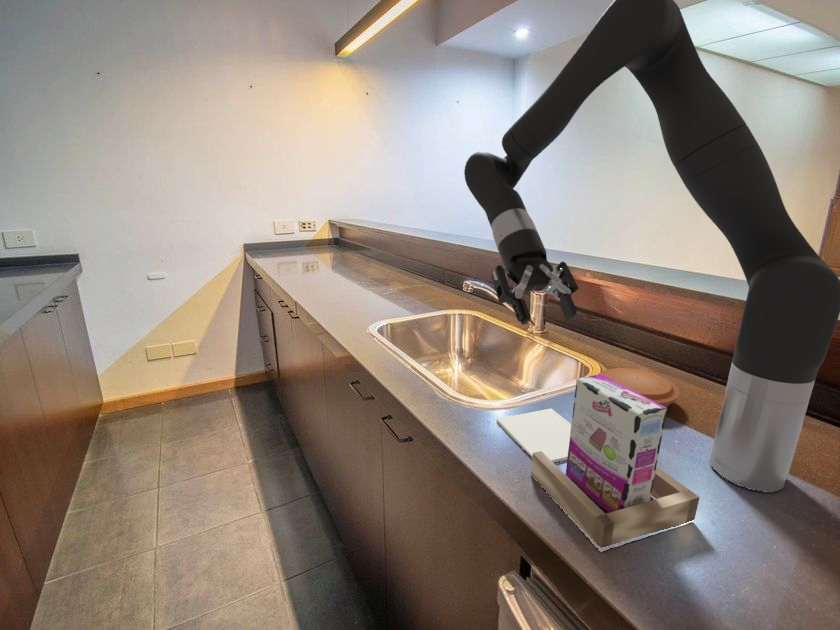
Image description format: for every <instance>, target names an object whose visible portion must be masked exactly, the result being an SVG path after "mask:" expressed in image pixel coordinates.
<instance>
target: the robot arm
mask: <svg viewBox="0 0 840 630" xmlns="http://www.w3.org/2000/svg"><path fill="white" fill-rule="evenodd" d="M687 27H688V26H687V24H686V22H685V20H684V17H683V14H682V11H681V8H680V6H679V5H678V4H677V3H676V1H675V0H613V1H612V2H611V4H610V5H609V6H608V7H607V9H605V11H604V13H603V14H602V15H601V16H600V17H599V19H598V20H597V22H596V24H595V25H594V26H593V28H592V29H591V30H590V32H589V33H588V34H587V36H586V38H585V39H584V40H583V41H582V42H581V44H580V46H579V47H578V48H577V50H576V51H575V52H574V53H573V55H572V56H571V57H570V59H569V60H568V61H567V63H566V64H565V65H564V67H562V69H561V70H560V72H559V73H558V74H557V75H556V77H555V78H554V79H553V81H552V82H551V83H550V84H549V86H547V87H546V89H545V90H544V91H543V93H541V95H539V97H538V98H537V99H536V101H534V102H533V104H532V105H531V106H529V108H528V109H527V110H526V111H525V112H524V113H523V114H522V115H521V116H520V117H519V118H518V119H517V120H516V121H515V122H514V123H513V125H511V127H509V129H507V130H506V132H505V133H504V134H503V136H502V139H501V146H502V149H503V151H504V153H505V154H506V155H505V156H504V157H500V156H498V155H495V154H494V153H491V152H488V151H483V150H482V151H477V152H474V153H472V155H470V156H469V158H468V159H467V160H466V162H465V166H464V171H463V172H464V180H465V183H466V186H467V188H468V190H469V191H470V193H471V194H472V196H473V198H474V199H475V200H476V202H477V203H478V204H479V206H480V207H481V208H482V209H483V211H484V213H485V215H486V217H487V220H488V221H487V222H488V223H489V225H490V228H491V229H490V230H491V232H492V238H493V239H494V242H495V245H496V249H497V251H498V254H499V256H500V260H501V261H502V264H503V266H502V265H497V266H496V267H495V269H494V271H493V272H492V273H491V279H492V283H493V285H494V286H493V287H494V290H495V294H496V297H497V300H498V302H499V303H500V304H505V303H506V304H509V305H510V306H512V307H511V308H512V310H513V312H514V315H515V318H516V320H517V321H518V322H519V323H520V324H521V325H522V326H524V325H527V324H528V323H530V321H531V320H532V317H531V314H530V311H529V308H528V306H527V303H526V300H525V298H522V297H523V295H524V292H526V293H531V292H533V291H534V292H535V291H537V292H541V291H543V292H545V293H546V294H547V295H551V296H553V297H554V298H555V299H557V300H558V304H559V306H560V308H561V312H562V315H563V317H564V319H565V320H567V321H570V320H572V319H573V318H575V317H576V315H577V311H578V310H577V307H576V305H575V303H574V301H573V298H572V296H573V295H574V294H575V293H576V292H577V291H578V290H579V286H578V284H577V283H578V282H576V280H575V278H574V275H573V273H572V272H571V270H570V269H569V266H568V264H567V262H565V261H560V262H559V263H558V264H556V265H552V264H551V263H550V262H549V261H548V258H547V249H546V248H545V246H544V244H543V241H542V239H541V237H540V234H539V232H538V229H537V227H536V225H535V223H534V221H533V219H532V217H531V216H530V214H529V212H528V210H527V209H526V205H525V204H524V201H523V199H522V197H521V195H520V193H519V192H518V191H517V190H515V189H514V188H515V187H516V186H517V185H518V183H519V181H520V180H521V179H522V177H523V176H524V174H525V173H526V171H527V170H528V168H529V166H530V165H531V163H532V161H533V160H534V159H535V158H537V157H538V156H539V155H540V154H541V153H542V152H543V151H544V150H546V148H548V147H549V146H550V145H551V144H552V143H553V142H554V141H555V140H556V139H557V138H558V137H559V136H560V135H561V134H562V132H563V131H564V130H565V129H566V127H568V125H569V123H570V122H571V121H572V119H573V117H574V116H575V114H576V113H577V112H578V111H579V109H580V107H581V106H582V105H583V104H584V102H585V101H586V100H587V99H588V98H589V97H590V96H591V94H592V93H593V92H594V91H595V90H596V89H597V88H598V87H600V86H601V85H602V84H603V83H604V82H606V81H607V80H608V79H609V78H611V77H612V76H613V75H614V74H616V73H617V72H619V71H620V70H622V69H623V68H626V69H627V70H628V71H629V72H630V73H631V74H632V75H633V76H634V77H635V79H636V80H637V82H638V83H639V85H640V86H641V87H642V89H643V91H644V92H645V93H646V94H647V96H648V97H649V100H650V101H651V103H652V105H653V108H654V110H655V112H656V115H657V119H658V123H659V127H660V131H661V136H662V140H663V143H664V146H665V149H666V152H667V154H668V157H669V158H670V161H671V163H672V165H673V167H674V168H675V171H676V173H677V175H679V177H680V179H681V182H683V184H684V187H685V188H686V189H687V191H688V192H689V194H690V195H691V197H692V198H693V199H694V201H695V202H696V203H697V205H698V206H699V207H700V209H701V210H702V211H703V213H705V215H706V216H707V217H708V218H709V219H710V220H711V221H712V223H713V224H714V225H715V226H716V228H718V230H720V232H721V233H722V234H723V235H724V237H725V238H726V240H727V241H728V243H729V244H730V247H731V249H732V250H733V252H734V255H735V257H736V259H737V261H738V263H739V265H740V268H741V270H742V272H743V274H744V277H745V280H746V282H747V283H746V284H747V286H748V292H747V294H746V295H747V296H746V299H745V305H744V307H743V308H744V309H743V313H742V317H741V321H740V322H741V323H740V325H739V327H740V328H739V331H738V335H737V336H738V337H737V340H736V343H735V346H734V350H733V351H734V352H733V356H732V359H731V360H732V361H731V365H730V369H729V373H728V378H727V383H726V386H725V391H724V396H723V401H722V405H721V408H720V409H721V410H720V412H719V413H720V414H719V417H718V423H717V426H716V432H715V435H714V440H713V443H712V447H711V452H710V457H709V462H710V463H709V465H710V464H711V465H710V467H711V466H712V467H713V469H714V470H716V471H717V472H718V473H719V474H721V475H722V476H723V477H725V478H726V479H728V480H729V481H731V482H734V483H736V484H739V485H742V486H744V487H747V488H751V489H755V490H759V491H767V492H766V493H775V492H774V491H777V492H779V491H778V490H780V489H781V490H782V489H784V486H785V484H786V477H787V476H788V477H789V475H790V474H789V473H790V469H791V467H792V464H793V460H794V456H795V454H796V453H795V452H796V449H797V446H798V444H799V439H800V437H801V432H802V429H803V424H804V419H805V417H806V413H807V410H808V407H809V403H810V399H811V396H812V393H813V392H812V391H813V388H814V385H815V381H816V379H817V375H818V373H819V369H820V367H821V366H822V365H823V363H824V361H825V359H826V356H827V354H828V350H829V347H830V345H831V342H832V338H833V336H834V332H835V329H836V326H837V322H838V320H839V316H840V278H839V277H838V275H837V274H836V273H835V271H833V269H832V268H831V267H830V265H828V264H827V263H826V262H825V261H824V260H823V259H822V258H821V256H820V255H819V254H818V253H817V252H816V251H815V249H813V247H812V246H811V245H810V243H809V242H808V241H807V239H806V238H805V237H804V235H803V234H802V232H801V231H800V230H799V228H798V227H797V226H796V224H795V223H794V221H793V220H792V218H791V216H790V215H789V212H788V211H787V209H786V207H785V204H784V201H783V199H782V197H781V193H780V191H779V190H780V189H779V186H778V183H777V181H776V179H775V177H774V174H773V172H772V170H771V167H770V165H769V162H768V160H767V158H766V156H765V154H764V152H763V149H762V148H761V146H760V145H759V143H758V141H757V140H756V138H755V136H754V135H753V133H752V131H751V129H750V128H749V125H748V124H747V123H746V121H745V120H744V118H743V116H742V115H741V114H740V112H739V111H738V110H737V108H736V107H735V105H734V103H733V102H732V101H731V100H730V98H729V97H728V96H727V94H726V92H725V91H723V89H722V87H720V85H719V84H718V83H717V82H716V81H715V80H714V79H713V77H712V76H711V74H710V73H709V72H708V70H707V69H706V66H705V65H704V64H703V61H702V59H701V58H700V55H699V53H698V51H697V48H696V46H695V44H694V42H693V39H692V37H691V35H690V32H689V30H688V28H687ZM508 279H509V280H510V281H512V282H513V283H514V285H513V289H512V291H511V288H510V285H509V283H508ZM550 282H551V283H552V285H549V284H550ZM712 467H711V468H712ZM713 469H712V470H713ZM714 470H713V471H714ZM723 477H722V478H723ZM788 477H787V478H788ZM726 479H725V480H726ZM728 480H727V481H728ZM729 481H728V482H729ZM731 482H730V483H731ZM736 484H735V485H736ZM781 490H780V491H781ZM759 491H758V492H759Z"/></svg>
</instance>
